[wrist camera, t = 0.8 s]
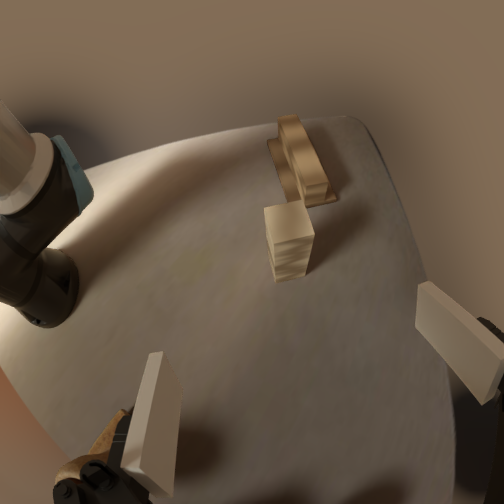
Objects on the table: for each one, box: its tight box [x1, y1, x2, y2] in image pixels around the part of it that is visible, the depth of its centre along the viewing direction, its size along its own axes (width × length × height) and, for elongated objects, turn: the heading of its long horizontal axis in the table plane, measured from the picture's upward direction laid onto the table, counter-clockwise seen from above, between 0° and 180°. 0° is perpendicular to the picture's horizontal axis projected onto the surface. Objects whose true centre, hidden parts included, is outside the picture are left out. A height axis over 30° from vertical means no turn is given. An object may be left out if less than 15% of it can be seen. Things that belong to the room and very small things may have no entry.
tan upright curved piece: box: [55, 409, 130, 485], centre depth 27 cm, size 15×12×15 cm
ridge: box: [267, 114, 337, 208], centre depth 49 cm, size 16×8×6 cm, turn 12°
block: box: [264, 200, 315, 283], centre depth 39 cm, size 4×4×14 cm
